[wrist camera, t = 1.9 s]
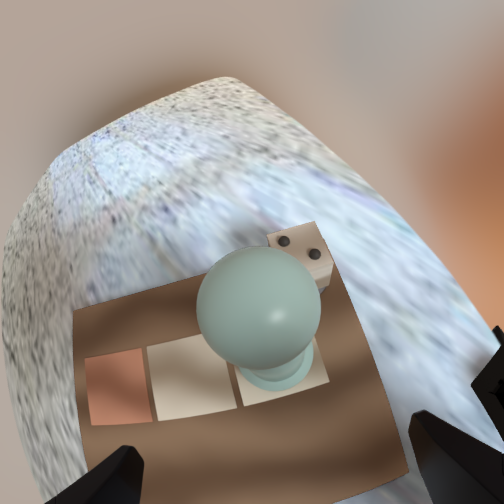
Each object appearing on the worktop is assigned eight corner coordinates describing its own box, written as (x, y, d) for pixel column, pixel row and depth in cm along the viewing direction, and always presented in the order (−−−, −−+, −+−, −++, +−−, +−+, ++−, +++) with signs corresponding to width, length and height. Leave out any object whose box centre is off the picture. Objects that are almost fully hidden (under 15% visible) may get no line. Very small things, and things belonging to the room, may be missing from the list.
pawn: (322, 378, 18) (357, 332, 8) (248, 399, 18) (184, 381, 8) (300, 311, 21) (300, 200, 11) (231, 331, 21) (165, 240, 10)
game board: (405, 470, 14) (434, 482, 9) (107, 516, 13) (70, 528, 9) (323, 243, 24) (327, 205, 20) (78, 313, 24) (44, 291, 20)
